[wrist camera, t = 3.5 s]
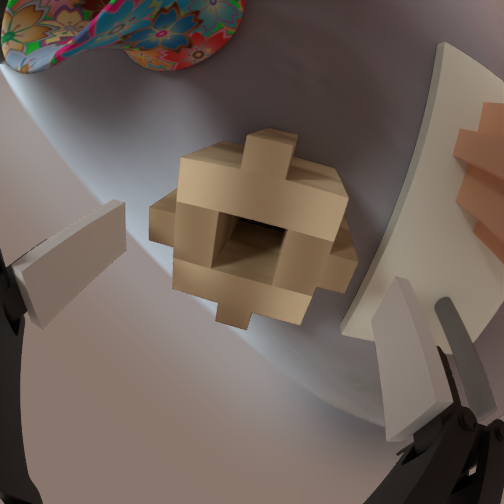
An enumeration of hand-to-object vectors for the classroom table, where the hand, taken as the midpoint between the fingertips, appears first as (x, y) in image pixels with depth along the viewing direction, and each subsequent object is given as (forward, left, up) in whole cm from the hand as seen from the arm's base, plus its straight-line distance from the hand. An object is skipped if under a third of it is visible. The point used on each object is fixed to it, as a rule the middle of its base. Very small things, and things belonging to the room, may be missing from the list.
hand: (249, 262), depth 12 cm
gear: (0, 0, -6) cm, 6 cm away
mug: (-7, +13, -7) cm, 17 cm away
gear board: (+15, +3, -6) cm, 16 cm away
